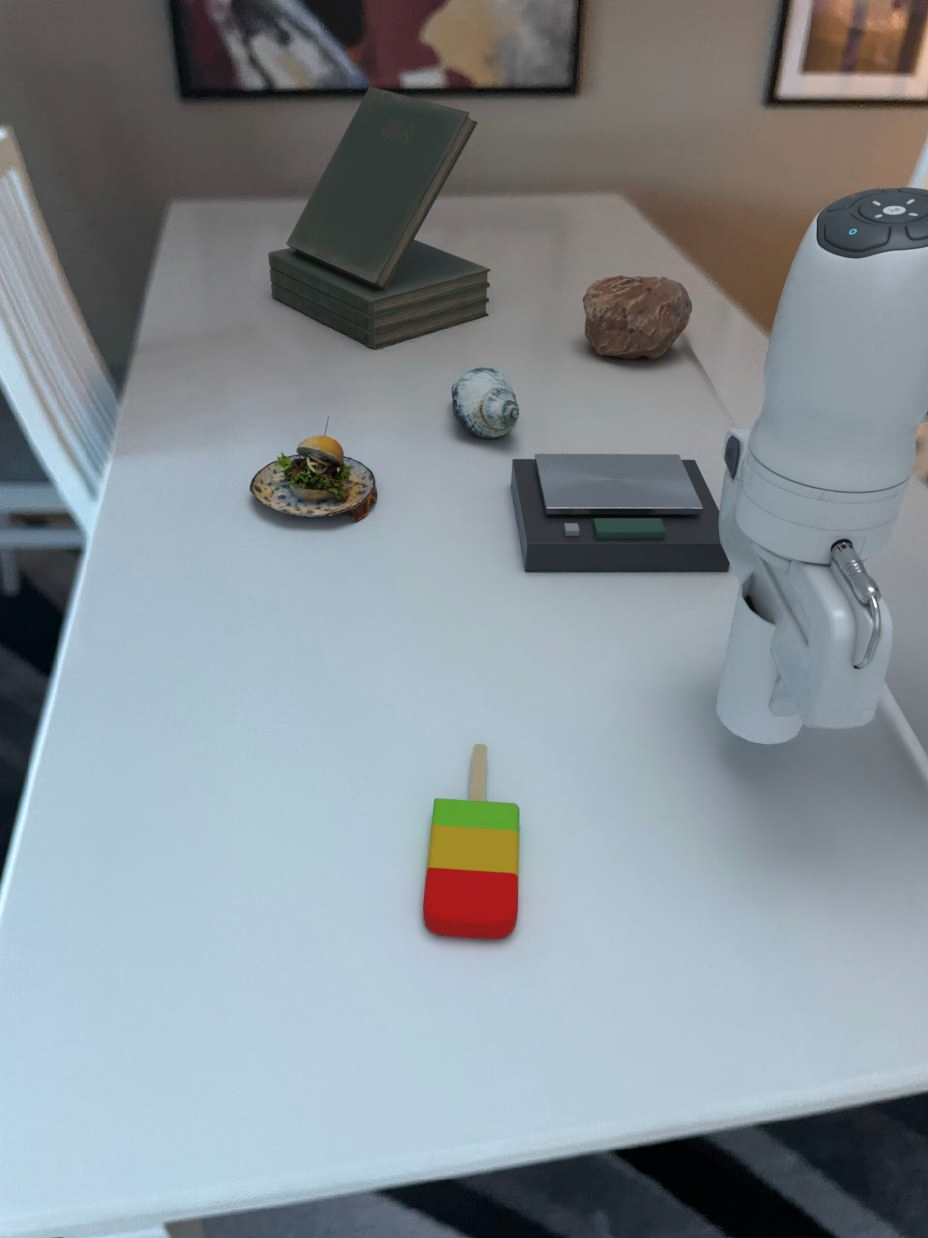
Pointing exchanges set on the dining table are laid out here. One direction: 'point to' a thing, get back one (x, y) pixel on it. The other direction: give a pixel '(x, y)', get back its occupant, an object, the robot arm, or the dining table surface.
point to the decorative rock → (635, 315)
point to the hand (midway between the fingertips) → (767, 680)
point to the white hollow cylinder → (751, 678)
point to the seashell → (485, 403)
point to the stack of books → (382, 229)
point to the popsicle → (473, 863)
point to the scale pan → (616, 484)
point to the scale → (615, 533)
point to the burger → (316, 481)
